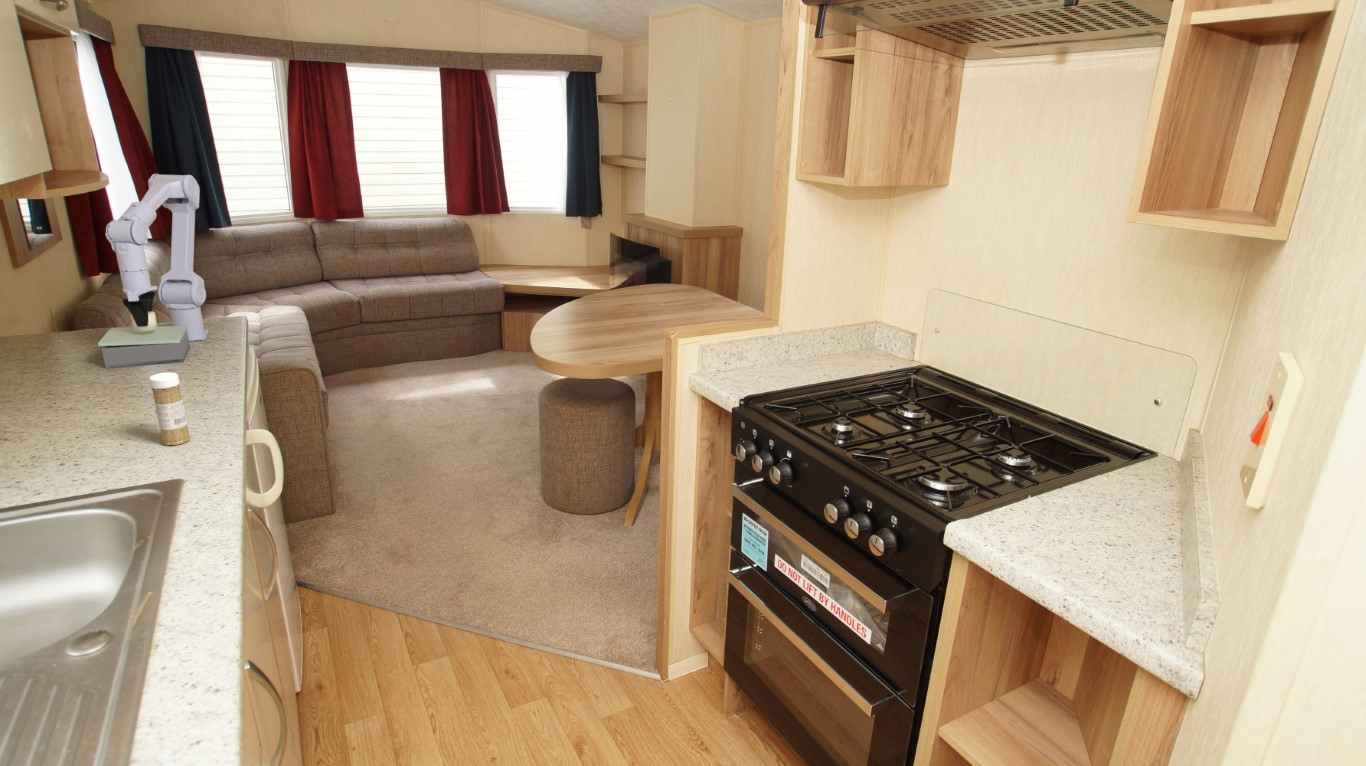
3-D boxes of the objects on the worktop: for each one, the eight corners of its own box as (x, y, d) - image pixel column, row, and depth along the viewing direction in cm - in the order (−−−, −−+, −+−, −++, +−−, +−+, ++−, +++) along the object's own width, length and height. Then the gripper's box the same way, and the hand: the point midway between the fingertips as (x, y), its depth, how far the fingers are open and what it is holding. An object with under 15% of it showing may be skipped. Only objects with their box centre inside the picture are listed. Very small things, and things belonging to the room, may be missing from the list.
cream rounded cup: (131, 328, 190) (128, 313, 188) (155, 325, 193) (152, 310, 192) (136, 332, 186) (132, 316, 185) (159, 329, 190) (156, 314, 188)
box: (117, 352, 194) (113, 334, 193) (190, 347, 201) (186, 329, 200) (105, 368, 183) (101, 348, 181) (183, 361, 189) (179, 342, 188)
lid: (111, 331, 193) (110, 328, 192) (187, 328, 200) (186, 325, 200) (98, 346, 180) (98, 342, 180) (179, 342, 187) (179, 339, 187)
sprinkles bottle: (184, 435, 147) (171, 369, 143) (195, 441, 145) (182, 375, 140) (158, 442, 143) (144, 375, 139) (168, 448, 141) (154, 380, 137)
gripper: (148, 274, 180) (159, 329, 185) (158, 263, 193) (168, 315, 197) (112, 275, 177) (124, 331, 182) (124, 265, 190) (135, 317, 194)
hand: (144, 323), depth 189 cm, fingers closed on cream rounded cup, 5 cm apart
